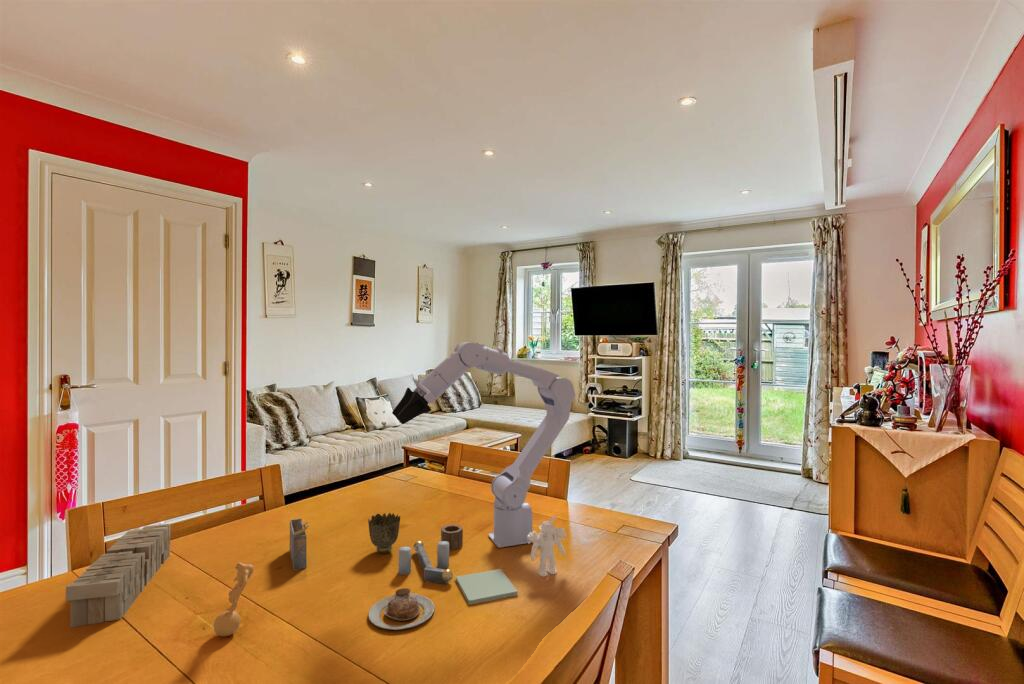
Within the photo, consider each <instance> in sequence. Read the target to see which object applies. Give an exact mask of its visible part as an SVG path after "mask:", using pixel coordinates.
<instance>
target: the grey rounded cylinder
mask: <svg viewBox="0 0 1024 684" xmlns="http://www.w3.org/2000/svg"><path fill="white" fill-rule="evenodd" d="M411 572H412V548H411V547H409V546H401V547H399V548H398V574H399V575H402V576H407V575H409V574H410V573H411Z"/></svg>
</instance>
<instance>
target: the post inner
mask: <svg viewBox="0 0 1024 684" xmlns="http://www.w3.org/2000/svg"><path fill="white" fill-rule="evenodd" d="M436 547H437V548H436V550H437V551H436V552H437V553H436V556H437V557H436V561H437V562H436V563H437V564H436V565H437V566H436V568H438V569H447V568H448V567H449V566H450V550H449V542H447V541H441V540H440V541H439V542H437V546H436Z"/></svg>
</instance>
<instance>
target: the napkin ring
mask: <svg viewBox="0 0 1024 684" xmlns="http://www.w3.org/2000/svg"><path fill="white" fill-rule="evenodd" d="M463 535H464V529H463V527H462V525H458V524H447V525H444V526H443V527H441V529H440V542H441V541H447V542H449V551H451V550H457V549H460V548H461V547H462V546H463V543H464V542H463V541H464V538H463Z"/></svg>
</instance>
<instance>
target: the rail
mask: <svg viewBox="0 0 1024 684" xmlns="http://www.w3.org/2000/svg"><path fill="white" fill-rule="evenodd" d="M424 546H425V545H424V542H423V541H421V540H416V541H415V542H414V544H413V549H414V551H415V552H416V557H417V559H418V561H419V564H420V566H421V568H422V571H423V581H424V582H427V583H434V584H440V585H445V586H446V585H447V584H448V583H449V582H451V581H452V579H453V577H454V573H453V571H452V570H451V569H450V568H449V569H447V568H438V567H434V566H433V564H432V562H431V560H430V558H429V555H428V554H427V552H426V550H425V547H424Z"/></svg>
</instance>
